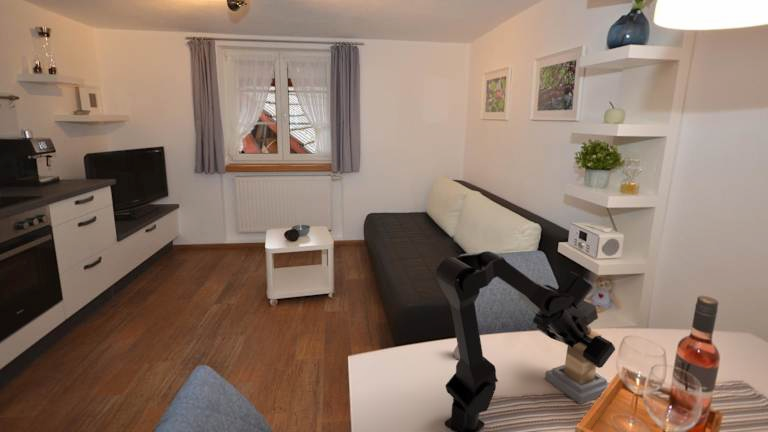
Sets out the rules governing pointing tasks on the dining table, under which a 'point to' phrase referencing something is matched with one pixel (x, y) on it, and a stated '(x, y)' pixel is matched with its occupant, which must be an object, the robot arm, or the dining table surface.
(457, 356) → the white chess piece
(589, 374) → the oak brick column
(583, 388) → the base plate
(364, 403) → the dining table surface
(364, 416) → the dining table surface
